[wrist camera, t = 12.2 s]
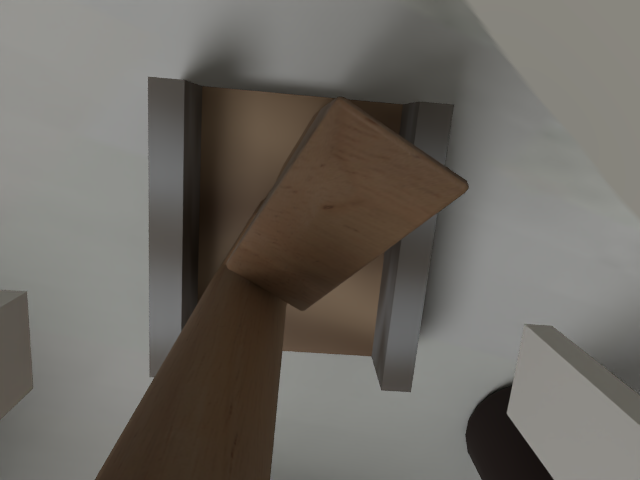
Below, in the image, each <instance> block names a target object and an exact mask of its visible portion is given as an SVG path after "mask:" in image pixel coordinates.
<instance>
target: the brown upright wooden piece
mask: <svg viewBox="0 0 640 480" xmlns="http://www.w3.org/2000/svg"><path fill="white" fill-rule="evenodd" d="M468 188H469V185H468V183H467V181H466V180H465V179H463V178H462V177H460V176H459V175H457V174H456V173H454V172H453V171H451V170H450V169H449V168H447V167H446V166H444V165H443V164H441V163H440V162H438V161H437V160H435V159H434V158H432V157H431V156H429V155H428V154H427V153H425V152H424V151H422V150H421V149H419V148H418V147H416V146H415V145H413V144H412V143H410V142H409V141H407V140H406V139H405V138H403V137H402V136H400V135H399V134H397V133H396V132H394V131H393V130H391V129H390V128H388V127H387V126H385V125H384V124H383V123H381V122H380V121H378V120H377V119H375V118H374V117H372V116H371V115H369V114H368V113H366V112H365V111H363V110H362V109H361V108H359V107H358V106H356V105H355V104H353V103H352V102H350V101H349V100H347V99H346V98H344V97H337V98H335V99H334V100H333V101H331V102H330V103H328V104H327V105H326V106H324V107H323V108H322V109H321V110H320V111H318V112H317V113H316V114H314V116H313V117H312V119H311V121H310V122H309V124H308V125H307V127H306V129H305V130H304V132H303V134H302V135H301V137H300V138H299V140H298V142H297V143H296V145H295V146H294V148H293V150H292V151H291V153H290V155H289V156H288V158H287V159H286V161H285V163H284V164H283V167H282V169H281V171H280V173H279V175H278V177H277V179H276V183H275V184H274V186H273V187H272V189H271V191H270V192H269V194H268V196H267V197H266V199H264V200H262V201H261V202H260V203H259V205H258V206H257V208H256V210H255V211H254V213H253V214H252V216H251V218H250V219H249V221H248V223H247V224H246V226H245V227H244V229H243V231H242V232H241V234H240V235H239V237H238V239H237V240H236V242H235V244H234V245H233V247H232V248H231V250H230V252H229V253H228V255H227V256H226V258H225V260H224V261H223V263H222V265H221V266H220V268H219V269H218V271H217V272H216V273H215V275H214V276H213V278H212V280H211V281H210V283H209V285H208V287H207V288H206V290H205V292H204V293H203V295H202V297H201V299H200V300H199V302H198V304H197V305H196V307H195V309H194V311H193V312H192V314H191V316H190V317H189V319H188V321H187V323H186V324H185V326H184V328H183V329H182V331H181V333H180V335H179V336H178V338H177V340H176V341H175V343H174V345H173V347H172V348H171V350H170V352H169V353H168V355H167V357H166V359H165V360H164V362H163V364H162V365H161V367H160V369H159V371H158V372H157V374H156V376H155V377H154V379H153V381H152V383H151V384H150V386H149V388H148V389H147V391H146V393H145V395H144V396H143V398H142V400H141V401H140V403H139V405H138V407H137V408H136V410H135V412H134V413H133V415H132V417H131V419H130V420H129V422H128V424H127V425H126V427H125V429H124V431H123V432H122V434H121V436H120V437H119V439H118V441H117V443H116V444H115V446H114V448H113V449H112V451H111V453H110V455H109V456H108V458H107V460H106V461H105V463H104V465H103V467H102V468H101V470H100V472H99V473H98V475H97V477H96V479H95V480H270V474H271V464H272V453H273V443H274V432H275V422H276V411H277V400H278V390H279V379H280V369H281V358H282V348H283V337H284V327H285V316H286V306H287V303H288V304H290V305H292V306H293V307H295V308H297V309H298V310H300V311H305V310H306V309H308V308H309V307H310V306H312V305H313V304H314V303H316V302H317V301H318V300H320V299H321V298H322V297H324V296H325V295H327V294H328V293H329V292H331V291H332V290H333V289H335V288H336V287H337V286H339V285H340V284H342V283H343V282H344V281H346V280H347V279H348V278H350V277H351V276H352V275H354V274H355V273H356V272H358V271H359V270H361V269H362V268H363V267H365V266H366V265H367V264H369V263H370V262H371V261H373V260H374V259H375V258H377V257H378V256H380V255H381V254H382V253H384V252H385V251H386V250H388V249H389V248H390V247H392V246H393V245H394V244H396V243H397V242H399V241H400V240H401V239H403V238H404V237H405V236H407V235H408V234H409V233H411V232H412V231H413V230H415V229H416V228H418V227H419V226H420V225H422V224H423V223H424V222H426V221H427V220H428V219H430V218H431V217H432V216H434V215H435V214H437V213H438V212H439V211H441V210H442V209H443V208H445V207H446V206H447V205H449V204H450V203H451V202H453V201H454V200H456V199H457V198H458V197H460V196H461V195H462V194H464V193H465V192H466V191H467V189H468Z"/></svg>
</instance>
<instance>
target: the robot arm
mask: <svg viewBox="0 0 640 480" xmlns="http://www.w3.org/2000/svg"><path fill="white" fill-rule="evenodd" d="M32 389H33V378H32V362H31V347H30V331H29V316H28V300H27V291H11V290H0V420H1V419H2V418H3V417H4V416H5V415H6V414H7V413H8V412H9V411H10V410H11V409H12V408H13V407H14V406H15V405H16V404H17V403H18V402H19V401H20V400H21V399H22V398H23V397H24V396H25V395H26V394H27V393H28V392H30V391H31V390H32ZM507 415H508V416H509V418H510V419H511V420H512V422H513V423H514V425H515V426H516V427H517V429H518V430H519V432H520V433H521V434H522V436H523V437H524V439H525V440H526V441H527V443H528V444H529V446H530V447H531V448H532V450H533V451H534V452H535V454H536V455H537V457H538V458H539V459H540V461H541V462H542V464H543V465H544V466H545V468H546V469H547V471H548V472H549V473H550V475H551V476H552V478H553V479H554V480H640V395H639V394H637V393H636V392H635V391H633V390H632V389H631V388H630V387H628V386H627V385H626V384H625V383H623V382H622V381H621V380H620V379H618V378H617V377H616V376H615V375H613V374H612V373H611V372H610V371H608V370H607V369H606V368H604V367H603V366H602V365H601V364H599V363H598V362H597V361H596V360H594V359H593V358H592V357H591V356H589V355H588V354H587V353H586V352H584V351H583V350H582V349H580V348H579V347H578V346H577V345H575V344H574V343H573V342H572V341H570V340H569V339H568V338H567V337H565V336H564V335H563V334H562V333H560V332H559V331H558V330H557V329H555V328H554V327H553V326H546V325H531V324H525V325H524V330H523V335H522V340H521V345H520V350H519V355H518V360H517V365H516V370H515V375H514V380H513V384H512V389H511V394H510V399H509V404H508V409H507Z"/></svg>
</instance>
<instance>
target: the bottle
mask: <svg viewBox="0 0 640 480" xmlns="http://www.w3.org/2000/svg"><path fill="white" fill-rule="evenodd" d="M511 389H512V387H507V388H504V389H502V390H500V391H498V392H496V393H494V394H492V395H490V396H488V397H487V398H486V399H485V400H484V401H483V402H482V403H481V404H479V405H478V406H477V407H476V409H475V411H474V412H473V414H472V416H471V417H470V419H469V421H468V426H467V430H466V442H467V449H468V453H469V455H470V457H471V459H472V461H473V463H474V465H475V467H476V469H477V471H478V473H479V475H480V477H481V479H482V480H554V479H553V478H552V476H551V475H550V473H549V472H548V471H547V469H546V468H545V466H544V465H543V464H542V462H541V461H540V459H539V458H538V457H537V455H536V454H535V452H534V451H533V450H532V448H531V447H530V446H529V444H528V443H527V441H526V440H525V439H524V437H523V436H522V434H521V433H520V432H519V430H518V429H517V427H516V426H515V425H514V423H513V422H512V420H511V419H510V418H509V416H508V415H507V409H508V404H509V399H510V394H511Z"/></svg>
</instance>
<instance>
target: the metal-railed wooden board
mask: <svg viewBox="0 0 640 480" xmlns="http://www.w3.org/2000/svg"><path fill="white" fill-rule="evenodd" d="M334 99H335V98H326V97H315V96H304V95H293V94H282V93H271V92H260V91H250V90H239V89H228V88H217V87H206V86H200V85H197V84H194V83H192V82H189V81H186V80H178V79H167V78H157V77H148V147H149V346H150V377H155V376H156V374H157V372H158V371H159V369H160V367H161V365H162V364H163V362H164V360H165V359H166V357H167V355H168V353H169V352H170V350H171V348H172V347H173V345H174V343H175V341H176V340H177V338H178V336H179V335H180V333H181V331H182V329H183V328H184V326H185V324H186V323H187V321H188V319H189V317H190V316H191V314H192V312H193V311H194V309H195V307H196V305H197V304H198V302H199V300H200V299H201V297H202V295H203V293H204V292H205V290H206V288H207V287H208V285H209V283H210V281H211V280H212V278H213V276H214V275H215V273H216V272H217V271H218V269H219V268H220V266H221V265H222V263H223V261H224V260H225V258H226V256H227V255H228V253H229V252H230V250H231V248H232V247H233V245H234V244H235V242H236V240H237V239H238V237H239V235H240V234H241V232H242V231H243V229H244V227H245V226H246V224H247V223H248V221H249V219H250V218H251V216H252V214H253V213H254V211H255V210H256V208H257V206H258V205H259V203H260V202H261V201H262V200H264V199H266V197H267V196H268V194H269V192H270V191H271V189H272V187H273V186H274V184H275V183H276V179H277V177H278V175H279V173H280V171H281V169H282V167H283V164H284V163H285V161H286V159H287V158H288V156H289V155H290V153H291V151H292V150H293V148H294V146H295V145H296V143H297V142H298V140H299V138H300V137H301V135H302V134H303V132H304V130H305V129H306V127H307V125H308V124H309V122H310V121H311V119H312V117H313V116H314V114H316V113H317V112H318V111H320V110H321V109H322V108H323V107H324V106H326V105H327V104H328V103H330V102H331V101H333V100H334ZM347 100H348V99H347ZM349 101H350V102H352V103H353V104H355V105H356V106H358V107H359V108H361V109H362V110H363V111H365V112H366V113H368V114H369V115H371V116H372V117H374V118H375V119H377V120H378V121H380V122H381V123H383V124H384V125H385V126H387V127H388V128H390V129H391V130H393V131H394V132H396V133H397V134H399V135H400V136H402V137H403V138H405V139H406V140H407V141H409V142H410V143H412V144H413V145H415V146H416V147H418V148H419V149H421V150H422V151H424V152H425V153H427V154H428V155H429V156H431V157H432V158H434V159H435V160H437V161H438V162H440V163H441V164H443V165H444V166H445V161H446V154H447V147H448V141H449V134H450V128H451V121H452V114H453V108H454V105H451V104H440V103H429V102H415V103H409V104H392V103H381V102H370V101H359V100H349ZM437 214H438V213H437ZM437 214H435V215H434V216H432V217H431V218H430V219H428V220H427V221H426V222H424V223H423V224H422V225H420V226H419V227H418V228H416V229H415V230H413V231H412V232H411V233H409V234H408V235H407V236H405V237H404V238H403V239H401V240H400V241H399V242H397V243H396V244H394V245H393V246H392V247H390V248H389V249H388V250H386V251H385V252H384V253H382V254H381V255H380V256H378V257H377V258H375V259H374V260H373V261H371V262H370V263H369V264H367V265H366V266H365V267H363V268H362V269H361V270H359V271H358V272H356V273H355V274H354V275H352V276H351V277H350V278H348V279H347V280H346V281H344V282H343V283H342V284H340V285H339V286H337V287H336V288H335V289H333V290H332V291H331V292H329V293H328V294H327V295H325V296H324V297H322V298H321V299H320V300H318V301H317V302H316V303H314V304H313V305H312V306H310V307H309V308H308V309H306V310H305V311H300V310H298V309H297V308H295V307H293V306H292V305H290V304H288V303H287V306H286V316H285V327H284V337H283V348H282V351H295V352H311V353H327V354H344V355H360V356H372V359H373V363H374V366H375V370H376V373H377V377H378V380H379V384H380V387H381V390H385V391H402V392H411V387H412V380H413V374H414V367H415V360H416V354H417V347H418V340H419V334H420V327H421V320H422V314H423V307H424V301H425V294H426V287H427V281H428V274H429V267H430V261H431V254H432V247H433V241H434V234H435V227H436V221H437Z"/></svg>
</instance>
